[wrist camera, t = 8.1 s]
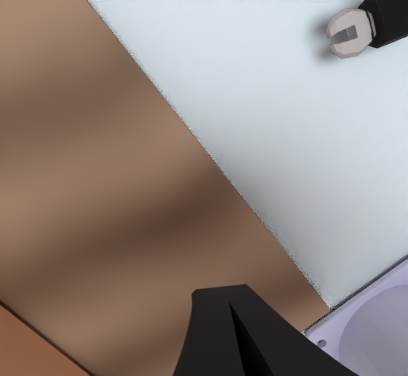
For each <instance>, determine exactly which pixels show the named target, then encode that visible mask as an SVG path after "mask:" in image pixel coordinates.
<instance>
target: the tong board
mask: <svg viewBox="0 0 408 376" xmlns="http://www.w3.org/2000/svg"><path fill="white" fill-rule="evenodd" d="M241 284H247V285H248V286H249V287H250V288H251V289H252V290H254V291H255V292H256V293H257V294H258V295H259V296H260V297H261V298H262V299H263V300H264V301H265V302H266V303H267V304H269V305H270V306H271V307H272V308H273V309H274V310H275V311H276V312H277V313H278V314H280V315H281V316H282V317H283V318H284V319H285V320H286V321H287V322H289V323H290V324H291V325H292V326H293V327H295V328H296V329H297V330H298V331H299V332H302V331H303V330H304V329H306V328H307V327H309V326H310V325H311V324H313V323H314V322H316V321H317V320H318V319H320V318H321V317H323V316H324V315H325V314H327V313H328V312H330V311H331V310H330V309H329V308H328V306H327V305H326V304H325V302H324V301H323V299H322V298H321V297H320V296H319V294H318V293H317V292H316V290H315V289H314V288H313V287H312V285H311V284H310V283H309V282H308V280H307V279H306V278H305V276H304V275H303V274H302V273H301V271H300V270H299V269H298V268H297V266H296V265H295V264H294V262H293V261H292V260H291V259H290V257H289V256H288V255H287V254H286V252H285V251H284V250H283V248H282V247H281V246H280V245H279V243H278V242H277V241H276V240H275V238H274V237H273V236H272V235H271V233H270V232H269V231H268V229H267V228H266V227H265V226H264V224H263V223H262V222H261V221H260V219H259V218H258V217H257V215H256V214H255V213H254V212H253V210H252V209H251V208H250V207H249V205H248V204H247V203H246V201H245V200H244V199H243V198H242V196H241V195H240V194H239V193H238V191H237V190H236V189H235V187H234V186H233V185H232V184H231V182H230V181H229V180H228V179H227V177H226V176H225V175H224V174H223V172H222V171H221V170H220V168H219V167H218V166H217V165H216V163H215V162H214V161H213V160H212V158H211V157H210V156H209V154H208V153H207V152H206V151H205V149H204V148H203V147H202V146H201V144H200V143H199V142H198V140H197V139H196V138H195V137H194V135H193V134H192V133H191V132H190V130H189V129H188V128H187V126H186V125H185V124H184V123H183V121H182V120H181V119H180V118H179V116H178V115H177V114H176V113H175V111H174V110H173V109H172V107H171V106H170V105H169V104H168V102H167V101H166V100H165V99H164V97H163V96H162V95H161V93H160V92H159V91H158V90H157V88H156V87H155V86H154V85H153V83H152V82H151V81H150V79H149V78H148V77H147V76H146V74H145V73H144V72H143V71H142V69H141V68H140V67H139V65H138V64H137V63H136V62H135V60H134V59H133V58H132V57H131V55H130V54H129V53H128V52H127V50H126V49H125V48H124V46H123V45H122V44H121V43H120V41H119V40H118V39H117V38H116V36H115V35H114V34H113V32H112V31H111V30H110V29H109V27H108V26H107V25H106V24H105V22H104V21H103V20H102V18H101V17H100V16H99V15H98V13H97V12H96V11H95V10H94V8H93V7H92V6H91V4H90V3H89V2H88V1H87V0H0V305H1V306H2V307H3V308H5V309H6V310H7V311H9V312H10V313H11V314H12V315H14V316H15V317H16V318H17V319H19V320H20V321H21V322H22V323H24V324H25V325H26V326H28V327H29V328H30V329H31V330H33V331H34V332H35V333H36V334H38V335H39V336H40V337H41V338H43V339H44V340H45V341H47V342H48V343H49V344H50V345H52V346H53V347H54V348H55V349H57V350H58V351H59V352H60V353H62V354H63V355H64V356H66V357H67V358H68V359H69V360H71V361H72V362H73V363H74V364H76V365H77V366H78V367H80V368H81V369H82V370H83V371H85V372H86V373H87V374H88V375H90V376H173V373H174V370H175V368H176V365H177V362H178V359H179V357H180V354H181V351H182V348H183V344H184V341H185V337H186V333H187V329H188V326H189V321H190V316H191V309H192V297H191V294H192V293H193V292H194V291H195V290H196V289H203V288H212V287H222V286H231V285H241Z"/></svg>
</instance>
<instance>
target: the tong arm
mask: <svg viewBox="0 0 408 376" xmlns="http://www.w3.org/2000/svg"><path fill="white" fill-rule="evenodd" d="M0 376H90V375H88V374H87V373H86V372H85V371H83V370H82V369H81V368H80V367H78V366H77V365H76V364H74V363H73V362H72V361H71V360H69V359H68V358H67V357H66V356H64V355H63V354H62V353H60V352H59V351H58V350H57V349H55V348H54V347H53V346H52V345H50V344H49V343H48V342H47V341H45V340H44V339H43V338H41V337H40V336H39V335H38V334H36V333H35V332H34V331H33V330H31V329H30V328H29V327H28V326H26V325H25V324H24V323H22V322H21V321H20V320H19V319H17V318H16V317H15V316H14V315H12V314H11V313H10V312H9V311H7V310H6V309H5V308H3V307H2V306H1V305H0Z"/></svg>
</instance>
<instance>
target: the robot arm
mask: <svg viewBox="0 0 408 376" xmlns="http://www.w3.org/2000/svg"><path fill="white" fill-rule="evenodd" d="M191 297H192V309H191V316H190V321H189V326H188V329H187V333H186V337H185V341H184V344H183V348H182V351H181V354H180V357H179V359H178V362H177V365H176V368H175V370H174V373H173V376H408V258H407V259H406V260H405V261H403V262H402V263H400V264H399V265H398V266H396V267H395V268H393V269H392V270H391V271H389V272H388V273H386V274H385V275H384V276H382V277H381V278H379V279H378V280H377V281H375V282H374V283H372V284H371V285H370V286H368V287H367V288H365V289H364V290H363V291H361V292H360V293H358V294H357V295H356V296H354V297H353V298H351V299H350V300H349V301H347V302H346V303H344V304H343V305H342V306H340V307H339V308H337V309H336V310H335V311H333V312H332V313H330V314H329V315H328V316H326V317H325V318H323V319H322V320H321V321H319V322H318V323H316V324H315V325H314V326H312V327H311V328H310V329H309V330H308V331H307V333H306V337H305V336H304V335H303V334H302V333H300V332H299V331H298V330H297V329H296V328H295V327H293V326H292V325H291V324H290V323H289V322H287V321H286V320H285V319H284V318H283V317H282V316H281V315H280V314H278V313H277V312H276V311H275V310H274V309H273V308H272V307H271V306H270V305H269V304H267V303H266V302H265V301H264V300H263V299H262V298H261V297H260V296H259V295H258V294H257V293H256V292H255V291H254V290H252V289H251V288H250V287H249V286H248V285H247V284H241V285H231V286H222V287H212V288H203V289H196V290H195V291H194V292H193V293H192V294H191ZM320 340H323V341H322V342H320V343H318V342H319V341H320Z"/></svg>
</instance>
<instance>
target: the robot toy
mask: <svg viewBox="0 0 408 376" xmlns="http://www.w3.org/2000/svg"><path fill="white" fill-rule="evenodd" d="M344 29H346V33H347V37H348V40H346V41H344V42H341V43H338V44H333V45H330V47H331V51H332V52H333V53H334V54H335V55H337V56H338V57H340V58H341V59H342V58H349V57H355V56H358V55H359V54H360V53H361V52H362V51H363V50H364V49H365V48H366V47H367V46H371V47H374V48H380V47H382V46H385V45H387V44H390V43H392V42H395V41H397V40H400V39H402V38H405V37H407V36H408V0H364V1H363V3H362V4H361V5H360V6H359V7H358V9H351V8H344V9H343V10H342V11H340V12H339V13H337V14H336V15H334V16H333V17H332V18H330V21H329V24H328V27H327V29H326V33H327V36H328V37H332V36H334V35H335V34H336V33H338V32H340V31H342V30H344Z"/></svg>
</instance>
